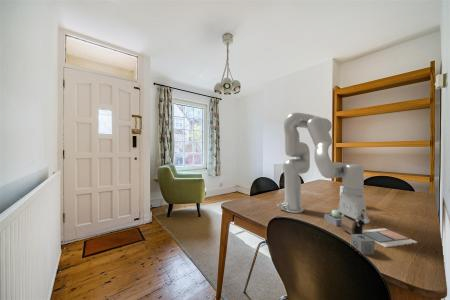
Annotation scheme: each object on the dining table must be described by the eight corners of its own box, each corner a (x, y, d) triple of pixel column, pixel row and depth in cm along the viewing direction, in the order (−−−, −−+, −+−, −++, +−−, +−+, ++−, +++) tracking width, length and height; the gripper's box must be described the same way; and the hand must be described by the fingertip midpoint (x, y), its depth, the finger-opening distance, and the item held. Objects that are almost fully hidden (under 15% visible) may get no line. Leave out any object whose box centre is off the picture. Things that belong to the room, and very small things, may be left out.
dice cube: (362, 246, 67) (363, 234, 67) (374, 254, 62) (374, 241, 62) (350, 247, 67) (350, 234, 67) (361, 254, 62) (361, 241, 62)
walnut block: (351, 234, 75) (352, 222, 75) (340, 227, 81) (342, 216, 80) (361, 233, 76) (363, 221, 76) (350, 226, 82) (351, 215, 81)
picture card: (385, 247, 67) (385, 245, 67) (356, 232, 78) (356, 230, 78) (417, 243, 70) (417, 241, 70) (384, 229, 81) (384, 227, 81)
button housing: (336, 226, 85) (336, 220, 85) (324, 219, 92) (324, 214, 92) (349, 224, 86) (350, 219, 86) (336, 218, 94) (336, 213, 94)
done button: (336, 220, 87) (336, 212, 87) (329, 216, 91) (329, 209, 91) (343, 219, 88) (343, 212, 87) (336, 216, 92) (336, 209, 92)
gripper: (330, 187, 86) (329, 222, 86) (364, 197, 69) (363, 241, 69) (343, 186, 87) (342, 221, 88) (379, 196, 70) (378, 239, 71)
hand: (351, 230), depth 78 cm, fingers closed on walnut block, 5 cm apart
